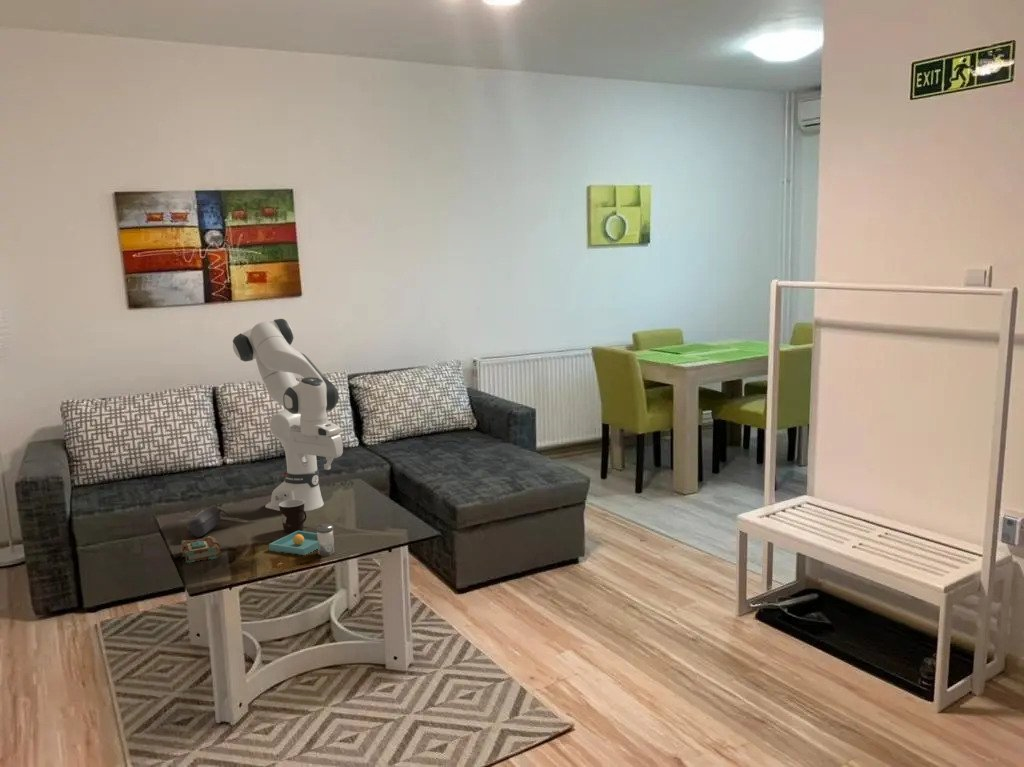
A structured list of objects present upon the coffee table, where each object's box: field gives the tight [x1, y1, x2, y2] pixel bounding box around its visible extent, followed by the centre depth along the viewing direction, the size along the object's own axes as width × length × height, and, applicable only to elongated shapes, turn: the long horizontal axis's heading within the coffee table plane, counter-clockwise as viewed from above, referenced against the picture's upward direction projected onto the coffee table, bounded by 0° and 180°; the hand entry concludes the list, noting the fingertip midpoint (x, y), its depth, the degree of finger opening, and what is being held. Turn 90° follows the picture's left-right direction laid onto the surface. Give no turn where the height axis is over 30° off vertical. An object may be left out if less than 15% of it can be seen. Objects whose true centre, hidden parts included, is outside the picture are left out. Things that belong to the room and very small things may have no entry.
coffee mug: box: [279, 500, 307, 534], centre depth 283 cm, size 12×9×10 cm
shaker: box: [315, 523, 335, 557], centre depth 261 cm, size 5×5×9 cm
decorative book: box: [181, 535, 221, 563], centre depth 266 cm, size 13×18×5 cm
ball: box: [293, 534, 304, 545], centre depth 268 cm, size 4×4×4 cm
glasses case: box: [186, 505, 230, 538], centre depth 286 cm, size 18×10×8 cm, turn 178°
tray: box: [268, 530, 318, 557], centre depth 268 cm, size 14×14×2 cm
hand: (316, 467), depth 273 cm, fingers open, 8 cm apart
